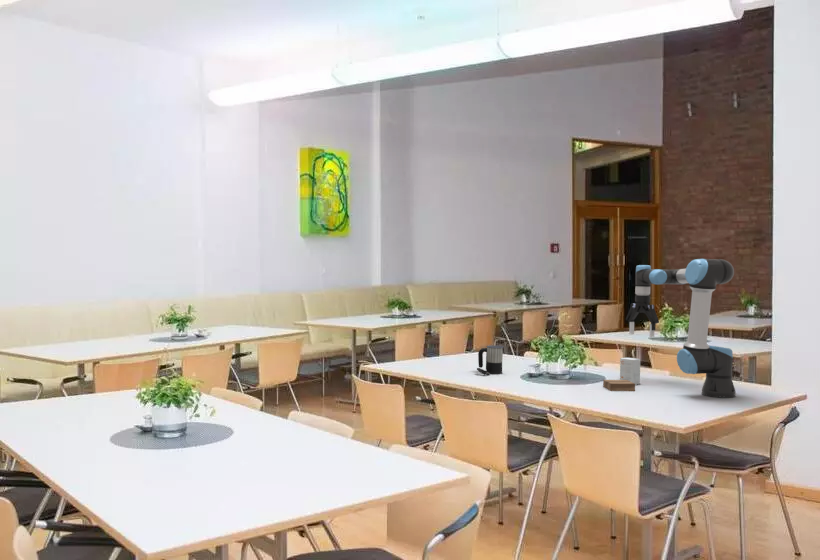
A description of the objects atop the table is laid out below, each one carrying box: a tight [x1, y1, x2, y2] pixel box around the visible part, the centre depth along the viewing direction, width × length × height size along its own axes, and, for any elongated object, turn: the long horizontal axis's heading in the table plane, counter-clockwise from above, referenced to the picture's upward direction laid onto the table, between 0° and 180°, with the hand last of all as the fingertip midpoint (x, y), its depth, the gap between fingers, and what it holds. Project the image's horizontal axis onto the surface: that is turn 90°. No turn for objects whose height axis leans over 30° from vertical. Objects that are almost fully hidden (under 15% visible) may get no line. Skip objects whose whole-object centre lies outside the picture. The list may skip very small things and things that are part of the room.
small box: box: [619, 357, 641, 386], centre depth 419 cm, size 8×6×13 cm
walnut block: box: [602, 379, 636, 392], centre depth 402 cm, size 12×12×4 cm
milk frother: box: [476, 345, 504, 376], centre depth 445 cm, size 14×16×15 cm
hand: (641, 335), depth 427 cm, fingers open, 13 cm apart
